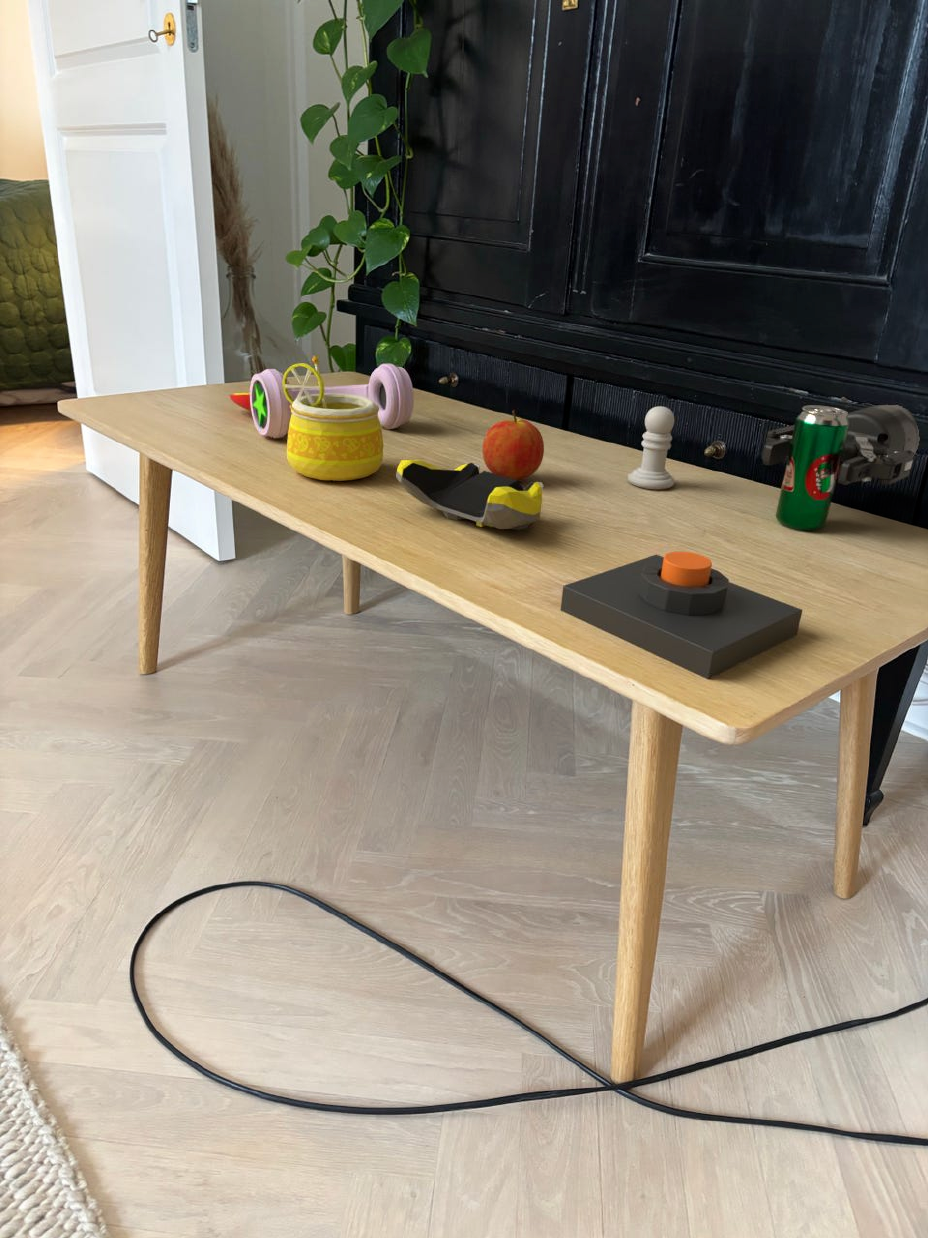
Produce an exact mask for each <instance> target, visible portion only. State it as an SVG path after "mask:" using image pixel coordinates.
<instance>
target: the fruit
mask: <svg viewBox="0 0 928 1238" xmlns="http://www.w3.org/2000/svg"><path fill="white" fill-rule="evenodd" d="M511 414H512V416H513V418H510V419H503V420H500V421H497V422H496V423H494V424H493V425H491V427H490V428H489V429H488V430H487V432H486V434H485V436H484V438H483V442H482V458H483V462H484V464H485V466H486V468H487V469H488V470H489V472H490V473H493V474H497V475H500V476H504V477H507V478H511V479H514V480H517V481H518V482H521V481H524V480H525V479H527V478H530V477H531V476H532V475H533V474H535V473H536V472H537V471H538V469H539V468H540V467H541V464H542V462H543V459H544V456H545V455H544V453H545V444H544V443H545V442H544V437H543V435H542V434H541V432H540V430H539V428H538V427H536V425H534V424H532V423H531V422H529V421H528V420H526V419H523V418H517V416H516V412H515V410H514V409H513V410H512V412H511Z"/></svg>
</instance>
